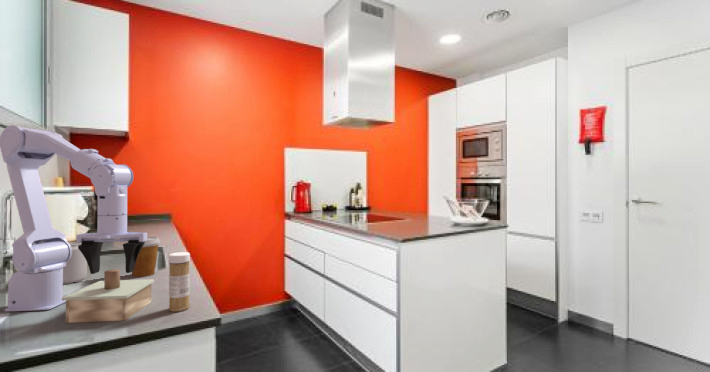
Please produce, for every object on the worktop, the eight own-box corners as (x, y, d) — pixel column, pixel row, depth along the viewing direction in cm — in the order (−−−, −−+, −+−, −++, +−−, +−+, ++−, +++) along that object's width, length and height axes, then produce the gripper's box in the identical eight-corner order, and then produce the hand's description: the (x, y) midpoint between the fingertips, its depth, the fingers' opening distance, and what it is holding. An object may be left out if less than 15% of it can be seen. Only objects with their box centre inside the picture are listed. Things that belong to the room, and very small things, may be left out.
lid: (61, 300, 72) (61, 279, 72) (99, 283, 85) (99, 265, 85) (126, 298, 74) (126, 277, 74) (154, 281, 87) (154, 263, 87)
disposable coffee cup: (141, 270, 117) (141, 236, 117) (166, 271, 116) (166, 237, 116) (118, 277, 108) (119, 240, 108) (145, 279, 107) (145, 241, 107)
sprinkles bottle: (186, 304, 85) (186, 250, 85) (192, 309, 81) (192, 253, 81) (165, 308, 81) (166, 253, 81) (171, 313, 78) (172, 256, 78)
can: (68, 285, 99) (68, 245, 99) (48, 284, 101) (48, 244, 101) (93, 278, 107) (93, 241, 107) (74, 277, 108) (74, 240, 108)
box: (65, 322, 73) (65, 299, 73) (100, 303, 85) (100, 283, 85) (125, 320, 74) (125, 297, 74) (151, 301, 86) (151, 282, 86)
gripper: (66, 216, 75) (66, 277, 75) (136, 216, 76) (136, 275, 76) (87, 214, 82) (87, 270, 82) (151, 213, 83) (151, 268, 83)
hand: (112, 272), depth 79 cm, fingers open, 7 cm apart
